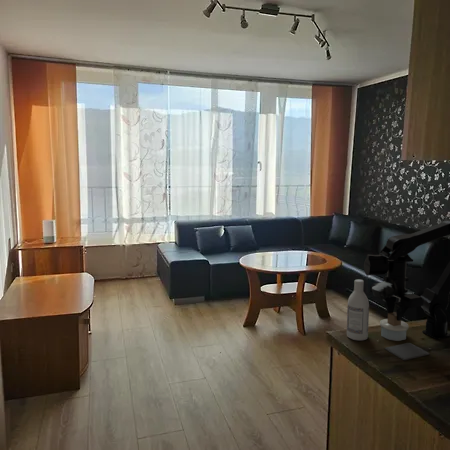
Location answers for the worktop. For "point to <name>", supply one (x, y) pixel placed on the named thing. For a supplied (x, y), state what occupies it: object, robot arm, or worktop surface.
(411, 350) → the mat
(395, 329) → the lid
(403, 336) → the bowl
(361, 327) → the bath foam
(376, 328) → the worktop surface
